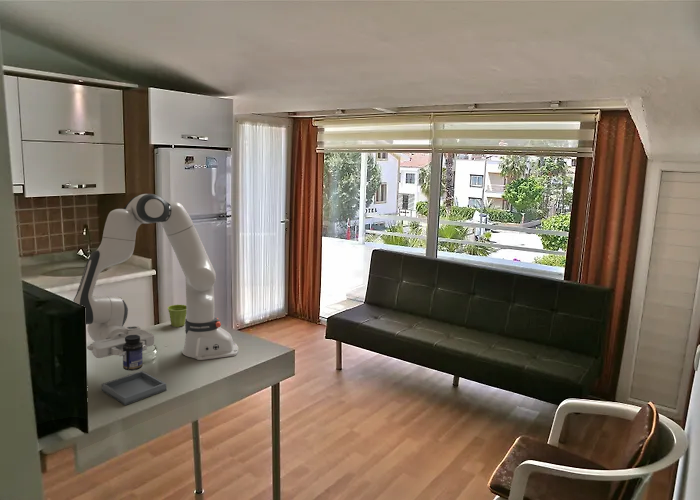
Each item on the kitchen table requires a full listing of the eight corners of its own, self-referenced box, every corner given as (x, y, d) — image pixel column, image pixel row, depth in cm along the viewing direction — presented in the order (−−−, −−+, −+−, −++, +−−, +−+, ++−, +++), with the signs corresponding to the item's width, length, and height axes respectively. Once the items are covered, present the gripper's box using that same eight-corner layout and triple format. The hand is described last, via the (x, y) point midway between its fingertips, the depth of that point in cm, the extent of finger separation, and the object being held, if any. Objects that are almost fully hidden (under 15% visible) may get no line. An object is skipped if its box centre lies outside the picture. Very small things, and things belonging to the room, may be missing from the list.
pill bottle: (145, 364, 177) (145, 334, 175) (137, 372, 171) (137, 340, 169) (128, 363, 177) (128, 333, 175) (119, 370, 171) (119, 339, 169)
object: (190, 321, 247) (189, 304, 246) (186, 328, 238) (186, 310, 236) (169, 321, 246) (169, 304, 244) (165, 328, 237) (165, 310, 235)
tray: (142, 377, 186) (142, 370, 185) (166, 390, 177) (166, 383, 176) (101, 390, 174) (101, 383, 174) (125, 405, 165) (124, 398, 165)
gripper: (84, 337, 173) (102, 349, 164) (142, 325, 188) (161, 335, 179) (85, 355, 174) (102, 368, 165) (143, 341, 189) (161, 352, 180)
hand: (133, 351), depth 172 cm, fingers closed on pill bottle, 6 cm apart
